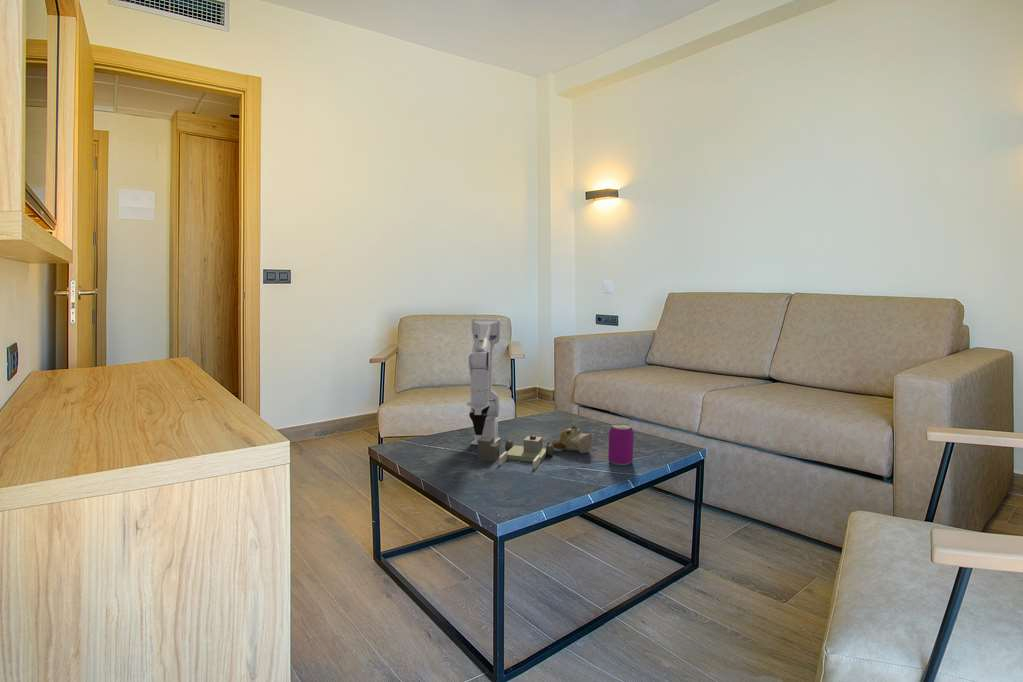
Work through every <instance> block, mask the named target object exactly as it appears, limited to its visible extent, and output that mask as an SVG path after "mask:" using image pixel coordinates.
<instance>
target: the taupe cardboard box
mask: <svg viewBox="0 0 1023 682" xmlns="http://www.w3.org/2000/svg"><path fill="white" fill-rule="evenodd" d="M499 457H500V442H496V443H494V438H489V437H481V438H480V439H479V440H478V445H477V460H478V461H483V462H484V461H486V462H493V463H494V462H496V461H499Z"/></svg>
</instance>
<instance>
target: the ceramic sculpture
mask: <svg viewBox="0 0 1023 682" xmlns="http://www.w3.org/2000/svg"><path fill="white" fill-rule="evenodd" d="M592 443H593V434H592V433H582V431H581V429H580V428H579V427H577V426H572V427H571V428H566V429H564V430H563V431H562V432H561V433H560V436H559V440H554V441H552V442H551V441H550V442H549V441H548V442H546V444H549V445H553V446H554V449H557V450H566V451H572V452H573V451H578V452H579V454H587V453H588V452H589V451H590V449H591V445H592Z"/></svg>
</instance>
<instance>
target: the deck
mask: <svg viewBox="0 0 1023 682" xmlns="http://www.w3.org/2000/svg"><path fill="white" fill-rule="evenodd" d="M546 444H547V443H546ZM504 448H505V451H504V452H502V454H500V455H499V459H498V465H499V466H503V464H504V463H505V462H506V461H507V460H513V461H521V462H530V463H532V470H536V469H537V467H538V466H539V465H540V464H541V463H542V462H543V461H544V460H545V458H546V457H547V456H548V457H549V456H551V457H553V455H554V451H555V448H554V446H553V445H549V444H547V445H546V447H545V448H543V437H542V436H537V435H535V434H534V435H533V434H531V435H527V436H526V437H524V439H523V445H517V444H516V445H515V444H514V441H513V440H511V439H509V440H506V442H505V445H504Z"/></svg>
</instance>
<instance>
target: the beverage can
mask: <svg viewBox="0 0 1023 682" xmlns="http://www.w3.org/2000/svg"><path fill="white" fill-rule="evenodd" d="M610 426H611V427H610V428H609V431H608V457H607V459H608V460H609V462H610V463H611V464H613V465H616V466H627V465H628V466H629V465H630V464H631V463H632V462H633V459H634V436H635V434H634V430H633V427H632V425H631V424H628V423H623V422H617V423H616V422H615V423H611V425H610Z"/></svg>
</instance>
